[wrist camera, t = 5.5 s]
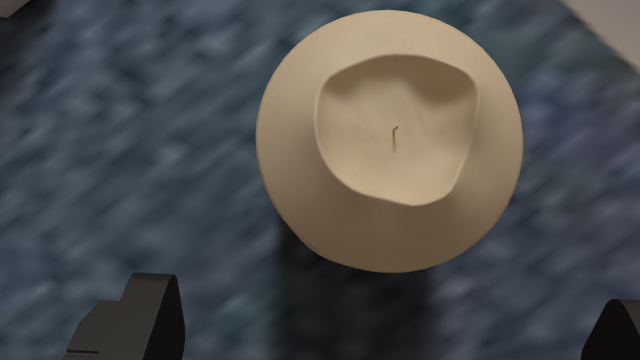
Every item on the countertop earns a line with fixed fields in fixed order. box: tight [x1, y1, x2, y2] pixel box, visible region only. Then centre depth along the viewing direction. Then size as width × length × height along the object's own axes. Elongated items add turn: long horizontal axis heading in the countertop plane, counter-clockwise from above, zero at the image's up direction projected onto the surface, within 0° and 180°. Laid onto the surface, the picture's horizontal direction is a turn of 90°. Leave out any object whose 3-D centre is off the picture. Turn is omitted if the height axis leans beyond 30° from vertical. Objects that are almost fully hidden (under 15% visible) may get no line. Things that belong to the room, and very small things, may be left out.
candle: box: [255, 10, 523, 273], centre depth 15 cm, size 6×6×10 cm
